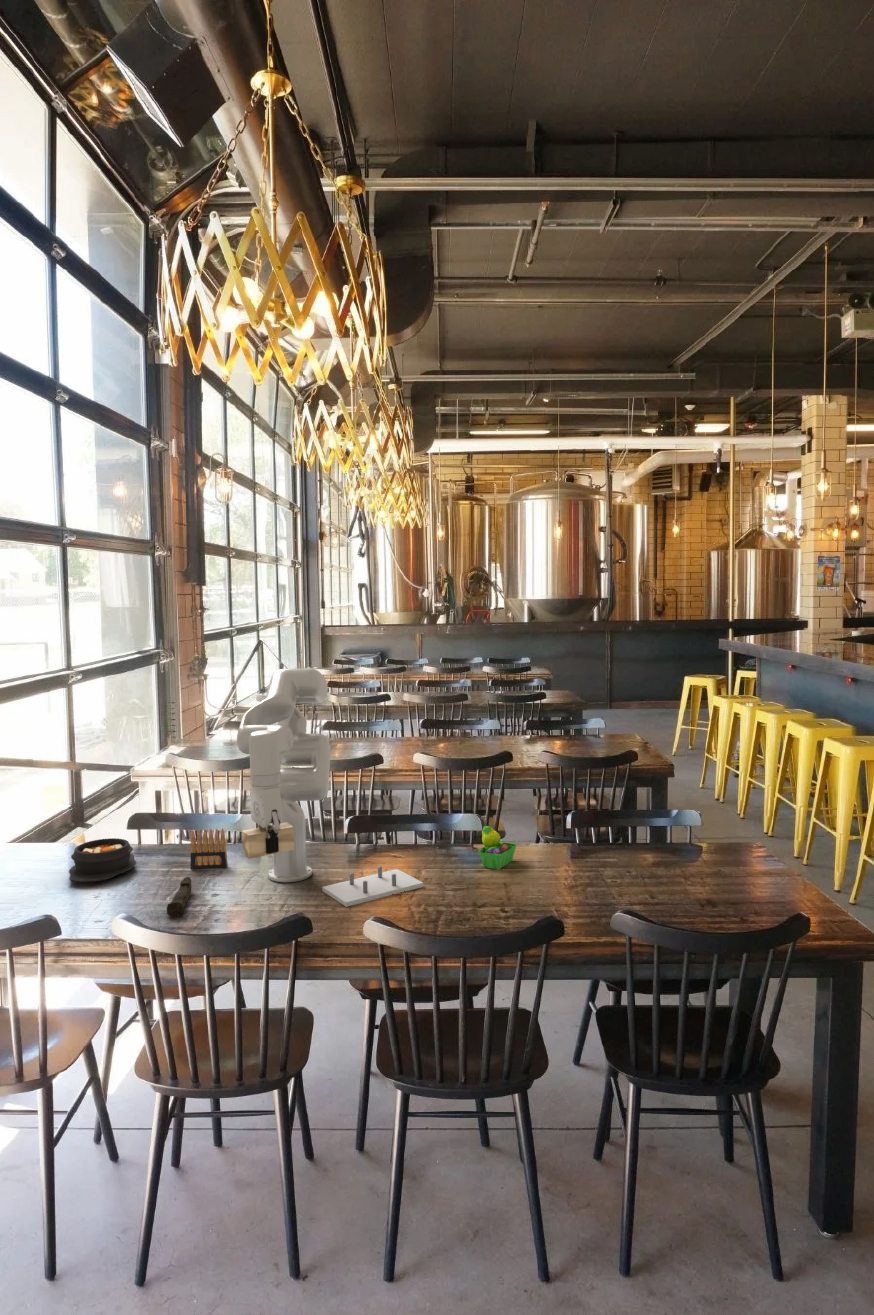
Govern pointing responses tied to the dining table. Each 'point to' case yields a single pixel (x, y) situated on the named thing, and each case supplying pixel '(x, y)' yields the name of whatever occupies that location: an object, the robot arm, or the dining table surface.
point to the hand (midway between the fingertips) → (268, 849)
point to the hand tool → (180, 898)
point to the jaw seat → (371, 887)
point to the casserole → (101, 860)
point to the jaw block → (257, 845)
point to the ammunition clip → (208, 851)
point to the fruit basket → (495, 850)
